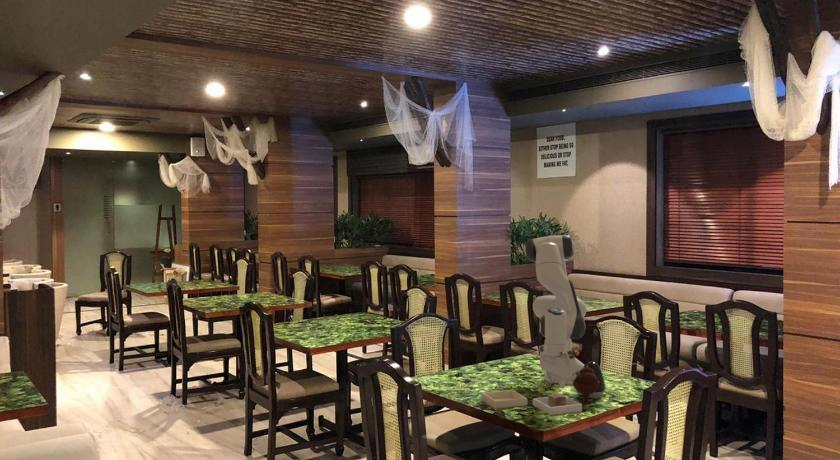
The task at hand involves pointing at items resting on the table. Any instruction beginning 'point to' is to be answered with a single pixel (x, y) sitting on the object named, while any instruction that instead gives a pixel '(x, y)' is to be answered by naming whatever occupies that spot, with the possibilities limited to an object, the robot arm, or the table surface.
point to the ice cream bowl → (586, 383)
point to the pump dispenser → (599, 375)
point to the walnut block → (556, 400)
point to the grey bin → (569, 408)
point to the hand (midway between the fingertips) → (555, 384)
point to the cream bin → (503, 399)
